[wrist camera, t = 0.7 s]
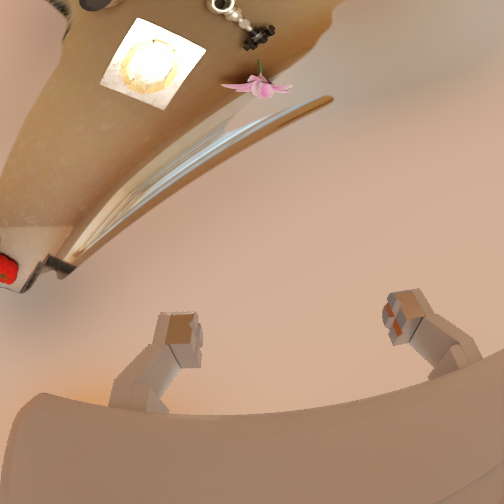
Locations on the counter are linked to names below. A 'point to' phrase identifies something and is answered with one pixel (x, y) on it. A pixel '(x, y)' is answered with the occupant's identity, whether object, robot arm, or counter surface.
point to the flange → (151, 64)
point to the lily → (259, 86)
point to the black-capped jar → (98, 4)
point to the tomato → (7, 270)
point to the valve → (243, 23)
